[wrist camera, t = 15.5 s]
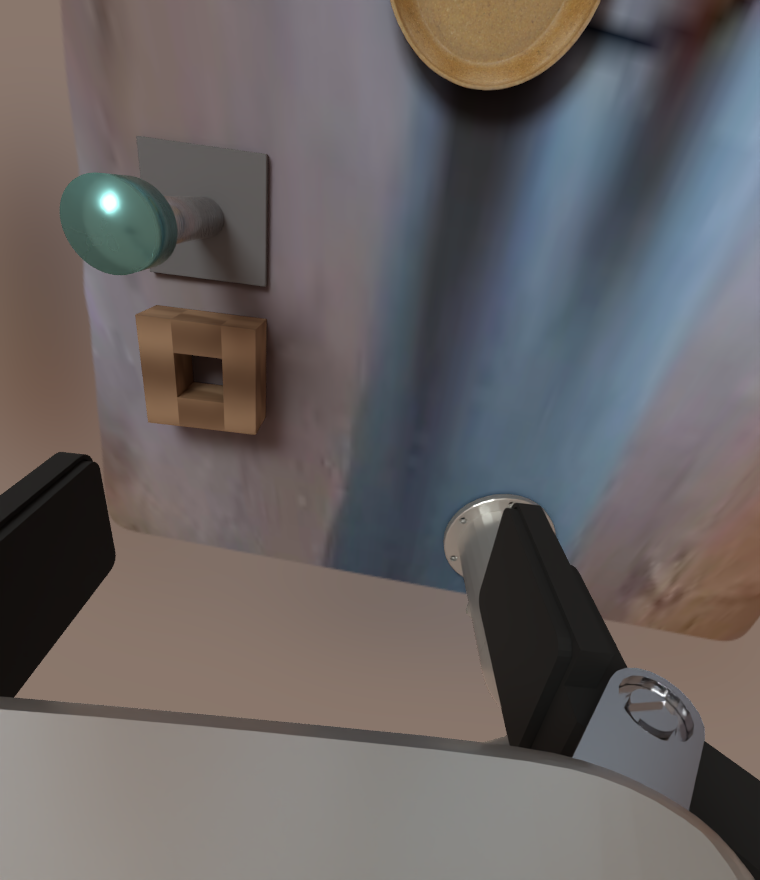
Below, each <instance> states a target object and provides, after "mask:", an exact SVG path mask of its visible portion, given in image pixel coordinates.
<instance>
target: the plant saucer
mask: <svg viewBox="0 0 760 880" xmlns="http://www.w3.org/2000/svg"><path fill="white" fill-rule="evenodd" d="M390 1H391V5H392V8H393V11H394V14H395V17H396V19H397V22H398V24H399V26H400V28H401V30H402V32H403V34H404V36H405V38H406V39H407V41H408V43H409V44H410V46H411V47H412V49H413V50H414V51H415V53H416V54H417V55H418V57H419V58H420V59H421V60H422V61H423V62H424V63H425V64H426V65H427V66H428V67H429V68H430V69H431V70H433V71H434V72H435V73H437V74H438V75H440V76H441V77H443V78H445V79H446V80H448V81H450V82H452V83H454V84H457V85H460V86H462V87H465V88H471V89H477V90H499V89H504V88H509V87H513V86H516V85H518V84H521V83H524V82H526V81H528V80H530V79H532V78H534V77H536V76H538V75H539V74H541V73H542V72H544V71H546V70H547V69H548V68H549V67H551V66H552V65H553V64H555V63H556V62H557V61H558V60H559V59H560V58H561V57H562V56H563V55H564V54H565V53H566V52H567V51H568V50H569V49H570V48H571V47H572V46H573V44H574V43H575V42H576V41H577V40H578V38H579V37H580V35H581V34H582V33H583V31H584V30H585V28H586V27H587V25H588V24H589V22H590V21H591V19H592V17H593V15H594V13H595V11H596V9H597V8H598V6H599V3H600V1H601V0H390Z"/></svg>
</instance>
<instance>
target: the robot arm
mask: <svg viewBox="0 0 760 880" xmlns="http://www.w3.org/2000/svg"><path fill="white" fill-rule="evenodd" d="M443 543H444V551H445V555H446V558H447V560H448V562H449V564H450V565H451V567H452V568H453V569H454V570H455V571H456V572H457V573H459V574H460V575H461V576H462V577H464V582H465V587H466V592H467V597H468V605H467V608H466V613H467V615H468V616H469V617H471V618H472V623H473V628H474V633H475V638H476V643H477V648H478V653H479V658H480V664H481V669H482V674H483V678H484V681H485V684H486V686H487V689H488V691H489V692H490V694H491V696H492V698H493V699H494V701H495V702H496V704H498V705H499V707H500V708H501V709H502V714H503V718H504V723H505V727H506V731H507V735H506V736H505V737H501V738H498V739H494V740H491V741H487V742H473V741H466V740H457V739H448V738H439V737H430V736H422V735H412V734H401V733H391V732H380V731H370V730H360V729H351V728H340V727H330V726H320V725H310V724H300V723H289V722H278V721H267V720H256V719H246V718H236V717H225V716H214V715H203V714H193V713H182V712H171V711H159V710H149V709H138V708H127V707H115V706H104V705H92V704H81V703H69V702H57V701H46V700H35V699H23V698H14V697H15V695H16V694H17V693H18V691H19V690H20V689H21V688H22V686H23V685H24V683H25V682H26V681H27V680H28V678H29V677H30V676H31V674H32V673H33V672H34V670H35V669H36V668H37V666H38V665H39V664H40V663H41V661H42V660H43V659H44V657H45V656H46V655H47V653H48V652H49V651H50V649H51V648H52V647H53V645H54V644H55V643H56V642H57V640H58V639H59V638H60V636H61V635H62V634H63V632H64V631H65V630H66V628H67V627H68V626H69V624H70V623H71V622H72V620H73V619H74V618H75V617H76V615H77V614H78V613H79V611H80V610H81V609H82V607H83V606H84V605H85V603H86V602H87V601H88V599H89V598H90V597H91V595H92V594H93V593H94V592H95V590H96V589H97V588H98V586H99V585H100V583H101V582H102V581H103V580H104V578H105V577H106V576H107V575H108V573H109V572H110V570H111V569H112V567H113V565H114V561H115V556H116V555H115V548H114V543H113V538H112V532H111V527H110V521H109V516H108V510H107V505H106V499H105V494H104V488H103V483H102V478H101V472H100V468H99V465H98V464H97V463H96V462H93V461H92V459H91V457H90V456H88V455H84V454H75V453H66V452H58V453H57V454H55V455H54V456H52V457H51V458H49V459H48V460H47V461H45V462H44V463H43V464H41V465H40V466H39V467H37V468H36V469H35V470H33V471H32V472H31V473H29V474H28V475H27V476H25V477H24V478H23V479H22V480H20V481H19V482H17V483H16V484H15V485H13V486H12V487H11V488H9V489H8V490H7V491H6V492H4V493H3V494H1V495H0V880H760V781H759V780H758V779H757V778H755V777H754V776H752V775H751V774H750V773H748V772H747V771H746V770H744V769H742V768H741V767H740V766H739V765H737V764H736V763H734V762H733V761H731V760H730V759H729V758H727V757H726V756H725V755H723V754H722V753H720V752H719V751H718V750H716V749H715V748H713V747H712V746H711V745H709V744H708V743H706V742H705V741H704V740H705V733H704V725H703V723H702V720H701V717H700V715H699V713H698V711H697V710H696V708H695V707H694V706H693V704H692V703H691V701H690V700H689V699H688V698H687V697H686V696H685V695H684V694H683V693H682V692H681V691H680V690H679V689H678V688H677V687H675V686H674V685H672V684H671V683H670V682H668V681H667V680H666V679H664V678H662V677H660V676H658V675H656V674H654V673H652V672H649V671H646V670H642V669H638V668H627V666H626V664H625V662H624V660H623V658H622V656H621V654H620V652H619V650H618V648H617V646H616V644H615V642H614V640H613V638H612V636H611V635H610V633H609V630H608V628H607V626H606V625H605V623H604V621H603V619H602V617H601V615H600V613H599V611H598V609H597V607H596V605H595V603H594V601H593V599H592V597H591V595H590V593H589V591H588V589H587V587H586V585H585V583H584V581H583V579H582V577H581V575H580V573H579V572H578V570H577V569H576V568H575V567H574V566H572V565H570V563H569V561H568V559H567V557H566V555H565V553H564V551H563V549H562V547H561V545H560V543H559V541H558V539H557V537H556V533H555V529H554V525H553V523H552V521H551V519H550V517H549V515H548V514H547V513H546V511H545V510H544V509H543V508H542V507H541V506H540V505H538V504H537V503H535V502H534V501H532V500H530V499H528V498H525V497H522V496H518V495H511V494H497V495H490V496H486V497H483V498H480V499H477V500H475V501H473V502H471V503H469V504H467V505H466V506H464V507H463V508H461V509H460V510H459V511H458V512H457V513H456V514H455V515H454V516H453V517H452V519H451V520H450V522H449V523H448V525H447V527H446V530H445V533H444V540H443Z"/></svg>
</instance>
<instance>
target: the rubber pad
mask: <svg viewBox="0 0 760 880" xmlns="http://www.w3.org/2000/svg"><path fill="white" fill-rule="evenodd" d="M136 138H137V148H138V157H139V167H140V177H141V179H142V180H144V181H146V182H148V183H150V184H151V185H153V186H154V187H155V188H156V189H157V190H159V192H160V193H161V194H162V195H163V196H199V197H208V198H211V199H213V200H214V201H215V202H216V203H217V204H218V205H219V206H220V208H221V209H222V212H223V215H224V225H223V228H222V230H221V231H220V233H218V234H217V235H215V236H212V237H208V238H203V239H198V240H193V241H188V242H184V243H179V244H176V247H175V249H174V251H173V253H172V255H171V256H170V257H169V258H168V259H167V260H166V261H165V262H164V263H162V264H160V265H158V266H156V267H152V268H150V272H157V273H165V274H173V275H180V276H188V277H196V278H203V279H211V280H219V281H227V282H234V283H242V284H250V285H257V286H267V222H268V155H267V154H262V153H255V152H247V151H240V150H233V149H226V148H219V147H212V146H205V145H198V144H191V143H184V142H177V141H170V140H163V139H156V138H149V137H141V136H136Z"/></svg>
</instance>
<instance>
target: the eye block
mask: <svg viewBox="0 0 760 880" xmlns="http://www.w3.org/2000/svg"><path fill="white" fill-rule="evenodd" d="M135 317H136V325H137V333H138V342H139V350H140V358H141V366H142V375H143V383H144V391H145V400H146V408H147V416H148V422H150V423H159V424H167V425H176V426H184V427H193V428H202V429H210V430H219V431H227V432H236V433H244V434H253V435H256V433H257V431H258V430H259V428H260V426H261V424H262V423H263V421H264V419H265V417H266V328H267V319H262V318H254V317H246V316H238V315H231V314H223V313H215V312H207V311H199V310H191V309H183V308H175V307H167V306H160V305H156V306H154V307H151V308H149V309H147V310H145V311H143V312H140V313H138V314H136V315H135ZM192 355H196V356H204V357H212V358H220V359H222V371H223V385H215V384H206V383H198V382H194V380H193V365H192Z"/></svg>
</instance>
